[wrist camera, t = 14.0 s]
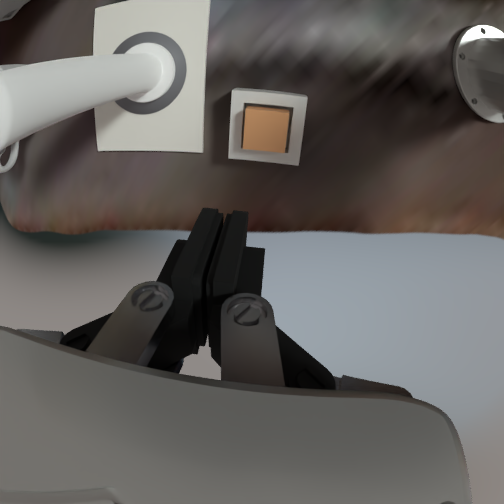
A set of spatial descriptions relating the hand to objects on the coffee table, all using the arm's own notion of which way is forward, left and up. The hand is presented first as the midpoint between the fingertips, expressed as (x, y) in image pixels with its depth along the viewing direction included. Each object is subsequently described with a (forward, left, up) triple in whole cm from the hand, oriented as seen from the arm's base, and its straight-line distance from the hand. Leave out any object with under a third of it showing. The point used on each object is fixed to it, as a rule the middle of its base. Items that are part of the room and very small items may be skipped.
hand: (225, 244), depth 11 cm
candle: (+13, -6, -23) cm, 27 cm away
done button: (0, 0, -21) cm, 21 cm away
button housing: (0, 0, -23) cm, 23 cm away
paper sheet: (+14, -6, -23) cm, 28 cm away
